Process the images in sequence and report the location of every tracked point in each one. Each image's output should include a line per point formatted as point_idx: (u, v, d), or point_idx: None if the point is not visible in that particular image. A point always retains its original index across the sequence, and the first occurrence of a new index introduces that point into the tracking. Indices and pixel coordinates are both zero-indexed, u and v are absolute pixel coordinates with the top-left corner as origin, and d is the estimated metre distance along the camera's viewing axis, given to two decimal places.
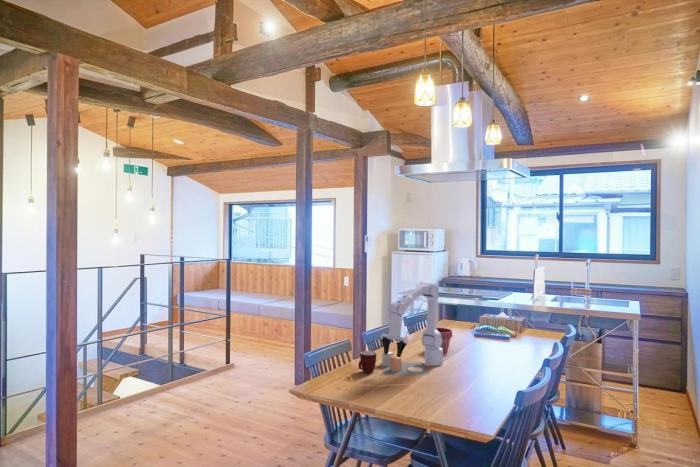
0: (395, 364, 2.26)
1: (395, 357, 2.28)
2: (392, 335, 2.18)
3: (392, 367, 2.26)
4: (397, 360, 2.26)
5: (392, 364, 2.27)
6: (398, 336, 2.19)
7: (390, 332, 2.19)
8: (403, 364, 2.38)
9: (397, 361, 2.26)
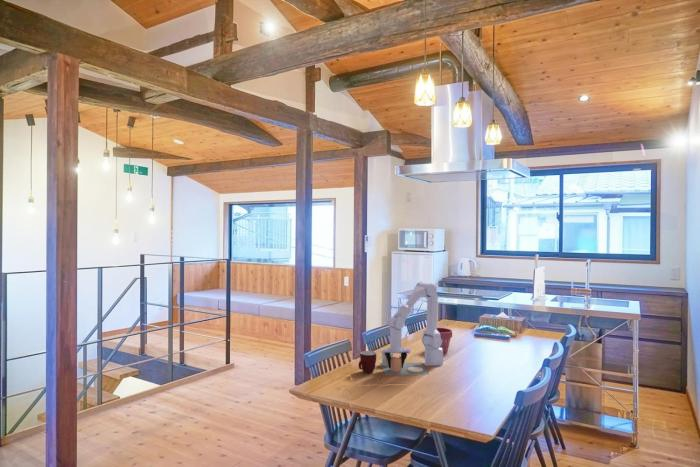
0: (395, 364, 2.26)
1: (395, 357, 2.28)
2: (398, 349, 2.26)
3: (392, 367, 2.26)
4: (397, 360, 2.26)
5: (392, 364, 2.27)
6: (401, 348, 2.28)
7: (395, 347, 2.26)
8: (403, 364, 2.38)
9: (397, 361, 2.26)
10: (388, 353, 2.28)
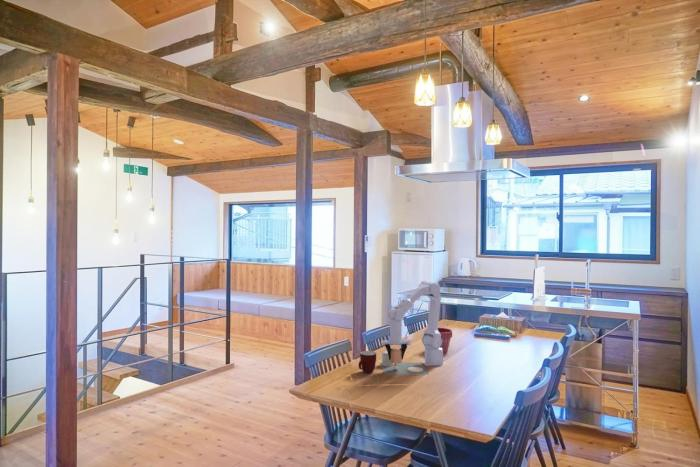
0: (395, 356, 2.26)
1: (395, 349, 2.28)
2: (398, 341, 2.26)
3: (393, 358, 2.26)
4: (397, 352, 2.26)
5: (392, 356, 2.26)
6: (401, 340, 2.28)
7: (395, 338, 2.26)
8: (403, 364, 2.38)
9: (397, 353, 2.26)
10: (388, 345, 2.28)
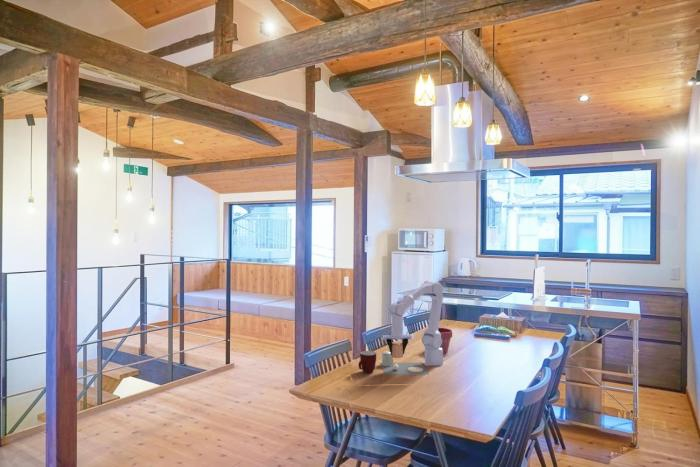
0: (396, 350, 2.26)
1: (396, 343, 2.28)
2: (399, 335, 2.26)
3: (394, 353, 2.26)
4: (398, 346, 2.26)
5: (393, 350, 2.27)
6: (402, 334, 2.28)
7: (396, 333, 2.26)
8: (403, 364, 2.38)
9: (398, 347, 2.26)
10: (389, 339, 2.28)
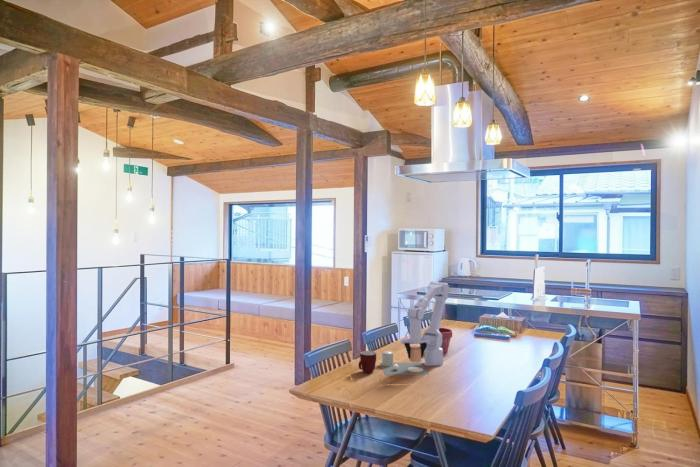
0: (415, 354, 2.26)
1: (415, 347, 2.29)
2: (417, 339, 2.26)
3: (412, 357, 2.27)
4: (417, 350, 2.26)
5: (412, 354, 2.27)
6: (420, 339, 2.29)
7: (415, 337, 2.26)
8: (403, 364, 2.38)
9: (417, 351, 2.26)
10: (408, 343, 2.28)
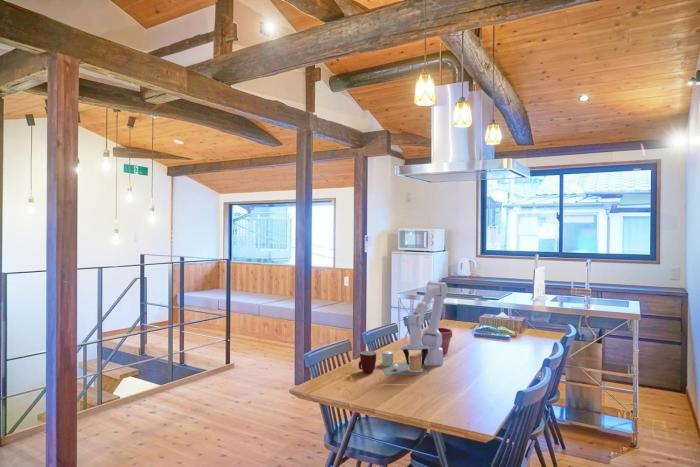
0: (415, 363, 2.26)
1: (415, 356, 2.29)
2: (417, 346, 2.26)
3: (412, 366, 2.27)
4: (417, 359, 2.26)
5: (412, 363, 2.27)
6: (420, 345, 2.29)
7: (415, 343, 2.26)
8: (403, 364, 2.38)
9: (417, 360, 2.26)
10: None
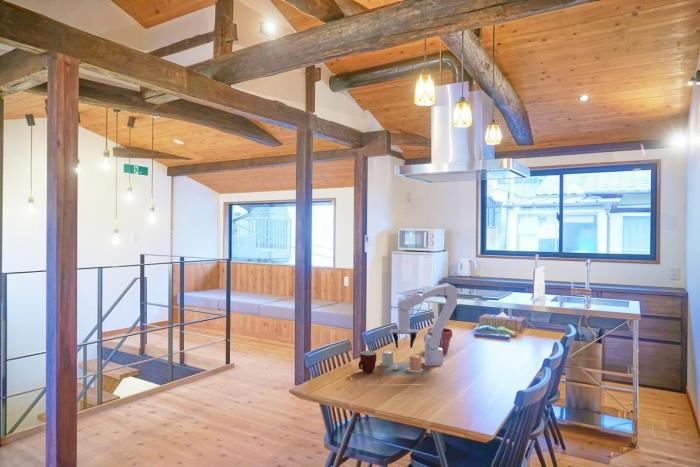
0: (415, 363, 2.26)
1: (415, 356, 2.29)
2: (406, 329, 2.36)
3: (412, 366, 2.27)
4: (417, 359, 2.26)
5: (412, 363, 2.27)
6: None
7: (403, 327, 2.36)
8: (403, 364, 2.38)
9: (417, 360, 2.26)
10: (397, 333, 2.38)
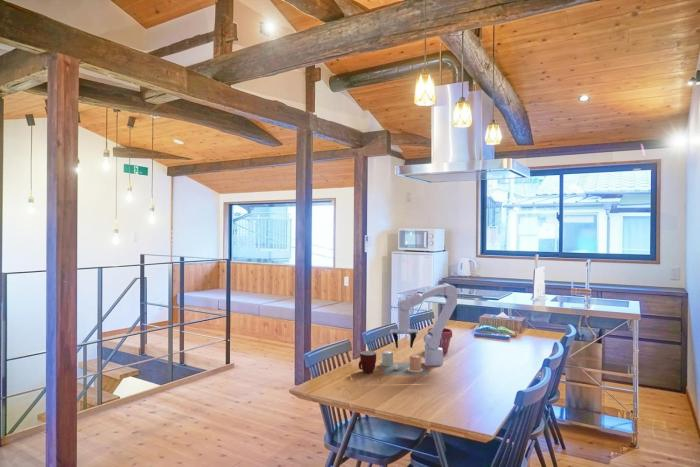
0: (415, 363, 2.26)
1: (415, 356, 2.29)
2: (406, 329, 2.36)
3: (412, 366, 2.27)
4: (417, 359, 2.26)
5: (412, 363, 2.27)
6: (409, 329, 2.38)
7: (403, 327, 2.36)
8: (403, 364, 2.38)
9: (417, 360, 2.26)
10: (397, 333, 2.38)
